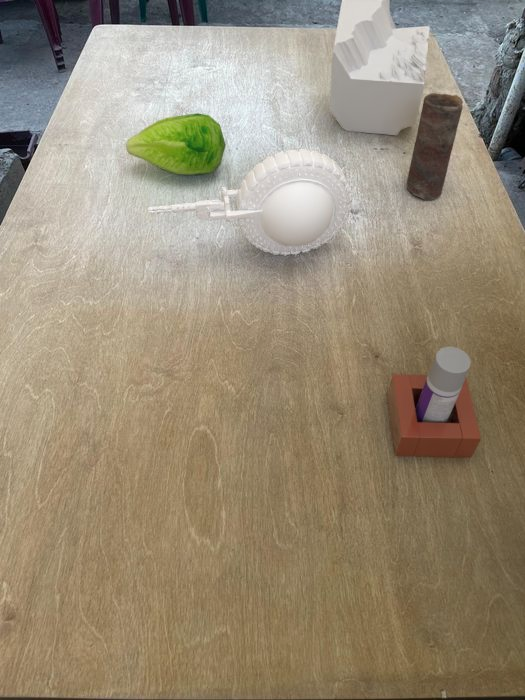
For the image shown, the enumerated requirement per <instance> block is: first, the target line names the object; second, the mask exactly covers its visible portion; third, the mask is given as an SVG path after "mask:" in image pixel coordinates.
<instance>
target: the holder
mask: <svg viewBox="0 0 525 700" xmlns="http://www.w3.org/2000/svg"><path fill="white" fill-rule="evenodd" d="M391 374H392V373H391ZM427 376H428V374H402V373H401V374H399V373H398V374H396V373H394V374H392V375H391V377H390V381H389V384H388V389H387V392H386V399H387V407H388V414H389V421H390V422H389V423H390V429H391V436H392V444H393V451H394V456H395V457H425V458H426V457H429V458H472V457H473V455H474V454H475V452H476V450H477V448H478V446H479V444H480V442H481V440H482V436H481V432H480V429H479V428H480V427H479V424H478V419H477V416H476V412H475V408H474V404H473V399H472V395H471V391H470V387H469V383H468V379H467V377H466V378H465V380H464V383H463V386H462V388H461V391H460V393H459V395H458V398H457V400H456V402H455V404H454V407H453V409H452V411H451V414H450V416H449V418H448V420H447V423H429V422H417V417H416V411H415V409H416V407H417V404H418V401H419V398H420V395H421V393H422V390H423V387H424V384H425V381H426V379H427Z"/></svg>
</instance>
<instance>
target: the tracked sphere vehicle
mask: <svg viewBox="0 0 525 700" xmlns="http://www.w3.org/2000/svg"><path fill="white" fill-rule="evenodd" d="M252 168H253V169H250V170H249V171H248V172H247V173H246V175H245V178H243V179H242V181H241V183H240V185H239V188H238V189H228V188H227V186H222V187H221V190H220V195H221V200H220V199H218V198H217V199H205V200H196V201H195V202H184V203H174V204H171V205H159V206H157V205H154V206H149V207H147V214H149V215H154V214H155V215H158V214H163V213H164V214H167V213H186V212H194V211H195V212H196V218H197V220H201V221H222V220H225V223H230V222H231V221H232V220H238V223H239V227H240V230H241V233H242V234H243V237H245V239H246V240H247V241H248V242H249V243H250V244H251V245H252V246H254V247H255V249H257V250H258V249H260V251H262V252H263V253H269V254H272V255H274V256H279V255H280V256H284V257H287V256H290V255H291V256H297V255H300V254H301V253H302V254H308V253H309V252H311V251H312V250H315V249H316V250H318V249H319V247H322V245H325V244H328V242H329V241H331V239H333V238H334V237H337V234H338V233H339V231H341V230H342V229H344V226H345V224H346V222H347V220H349V216H350V213H351V210H352V205H353V204H352V202H353V196H352V195H353V194H352V190H351V187H350V184H349V182H348V180H347V177H346V175H345V173H344V171H343V169H342V168H341V167H340V165H339V164H338V163H337V161H335V160H334V159H333V158H331V157H329V156H328V155H326V154H325V153H321V151H316V150H312V149H311V150H309V149H305V148H302V149H301V148H299V149H297V148H295V149H292V148H290V149H288V150H286V152H285V151H284V150H283V151H278V152H277V153H274V156H273V155H270V156H266V158H264V159H262V161H260V162H258V163H256V165H254V166H253V167H252ZM233 198H235V210H231V202H230V199H233Z"/></svg>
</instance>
